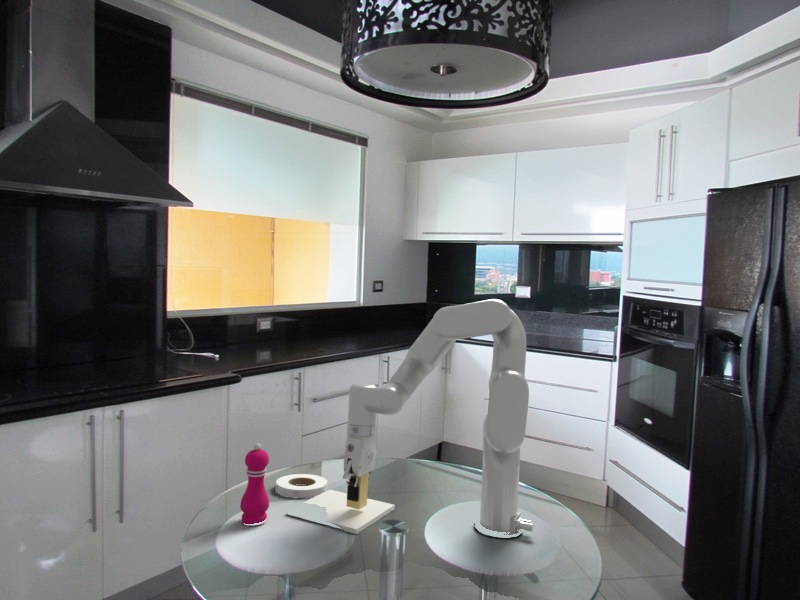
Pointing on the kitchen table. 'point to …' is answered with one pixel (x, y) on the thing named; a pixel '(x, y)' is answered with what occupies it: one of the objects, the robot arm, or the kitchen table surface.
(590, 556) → the kitchen table surface
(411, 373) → the robot arm
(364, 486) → the block
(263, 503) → the pepper mill
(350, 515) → the board
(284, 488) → the object
